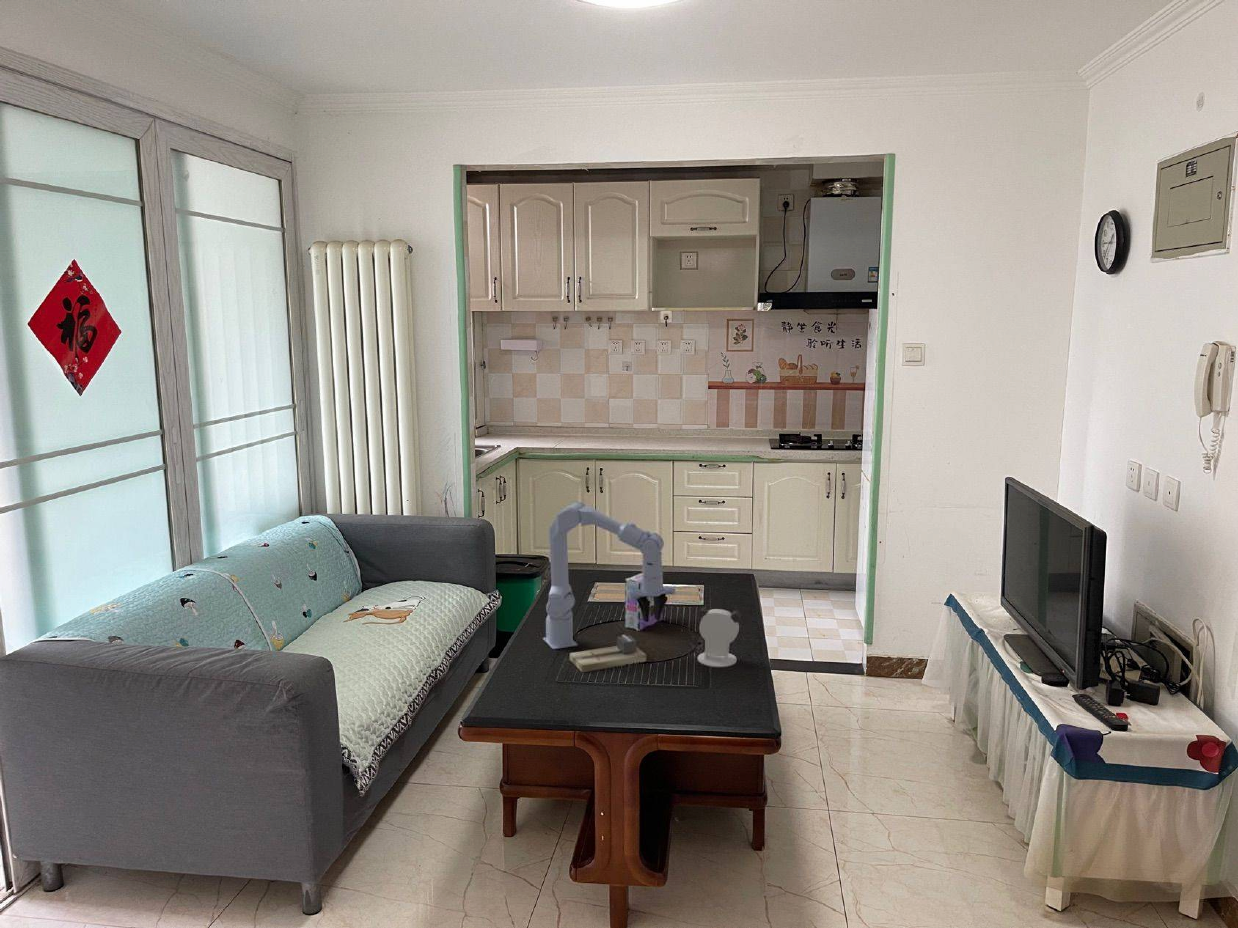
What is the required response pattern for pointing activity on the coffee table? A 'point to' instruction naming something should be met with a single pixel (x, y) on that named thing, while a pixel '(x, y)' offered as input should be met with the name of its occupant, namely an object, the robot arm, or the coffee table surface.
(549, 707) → the coffee table surface
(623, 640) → the fader tab
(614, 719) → the coffee table surface
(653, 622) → the candy box
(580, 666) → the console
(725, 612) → the panda figurine
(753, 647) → the coffee table surface
